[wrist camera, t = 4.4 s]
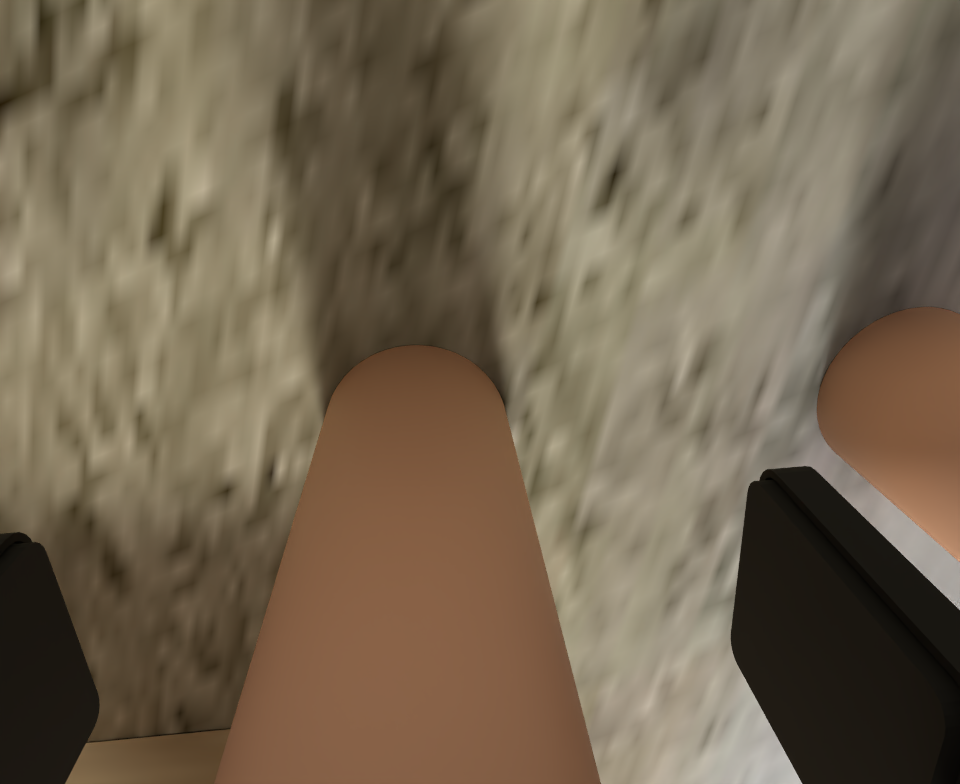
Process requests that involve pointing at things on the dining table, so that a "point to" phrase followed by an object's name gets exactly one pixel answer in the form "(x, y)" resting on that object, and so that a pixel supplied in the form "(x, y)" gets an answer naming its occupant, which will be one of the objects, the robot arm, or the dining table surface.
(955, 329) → the short pin
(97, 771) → the bore block
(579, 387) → the dining table surface
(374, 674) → the long pin
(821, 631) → the robot arm
